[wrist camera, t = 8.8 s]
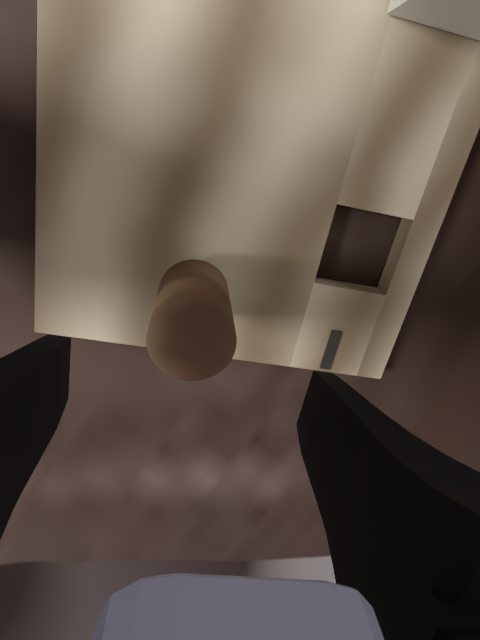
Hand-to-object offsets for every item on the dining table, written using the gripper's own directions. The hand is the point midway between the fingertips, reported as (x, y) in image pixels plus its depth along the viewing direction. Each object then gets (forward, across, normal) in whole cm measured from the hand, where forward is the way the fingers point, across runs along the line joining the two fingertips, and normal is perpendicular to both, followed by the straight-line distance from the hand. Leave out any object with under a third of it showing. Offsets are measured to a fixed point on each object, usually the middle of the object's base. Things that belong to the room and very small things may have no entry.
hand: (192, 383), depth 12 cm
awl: (+9, 0, 0) cm, 9 cm away
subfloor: (+10, -2, -9) cm, 14 cm away
